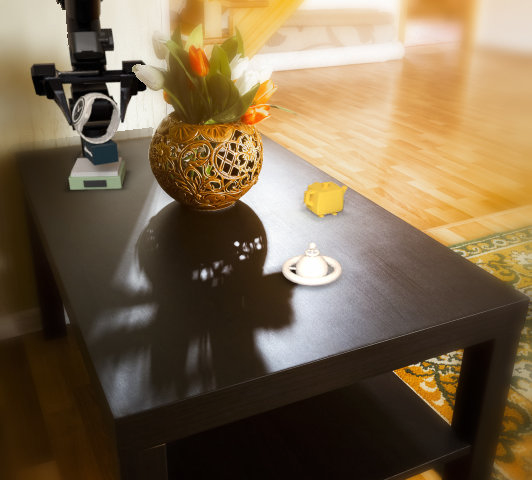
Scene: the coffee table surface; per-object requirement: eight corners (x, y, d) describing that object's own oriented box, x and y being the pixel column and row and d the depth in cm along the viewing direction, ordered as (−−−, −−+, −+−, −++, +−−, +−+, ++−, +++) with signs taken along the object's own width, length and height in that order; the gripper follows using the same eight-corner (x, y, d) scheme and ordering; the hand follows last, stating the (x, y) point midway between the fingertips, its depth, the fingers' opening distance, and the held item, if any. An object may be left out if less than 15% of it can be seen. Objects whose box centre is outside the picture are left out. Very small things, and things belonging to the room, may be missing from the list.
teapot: (334, 201, 110) (336, 172, 107) (352, 213, 105) (355, 183, 102) (294, 208, 107) (295, 178, 104) (310, 220, 102) (312, 190, 99)
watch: (73, 157, 110) (64, 93, 105) (117, 150, 114) (111, 88, 108) (83, 167, 106) (73, 101, 100) (128, 160, 110) (122, 95, 104)
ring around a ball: (320, 301, 80) (352, 278, 85) (321, 261, 77) (354, 239, 83) (270, 284, 84) (303, 263, 90) (269, 245, 81) (304, 226, 87)
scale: (77, 172, 120) (75, 157, 118) (125, 171, 121) (124, 156, 119) (70, 190, 112) (67, 174, 110) (121, 189, 113) (119, 173, 111)
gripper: (20, 10, 99) (30, 100, 96) (141, 8, 103) (154, 94, 100) (31, 53, 109) (40, 135, 106) (140, 50, 114) (152, 129, 111)
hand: (96, 123), depth 105 cm, fingers closed on watch, 8 cm apart
